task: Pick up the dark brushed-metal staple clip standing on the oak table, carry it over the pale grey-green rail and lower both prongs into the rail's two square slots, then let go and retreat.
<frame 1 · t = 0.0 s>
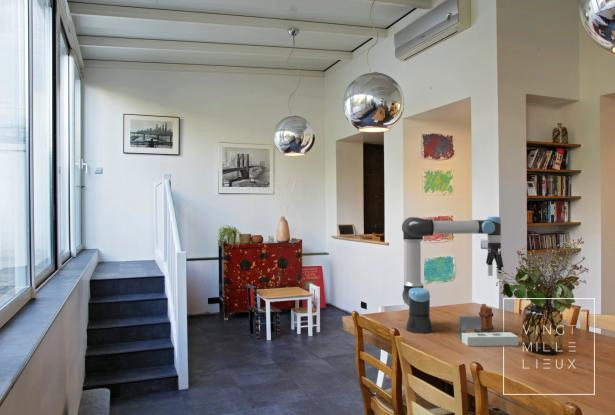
hand: (494, 277, 301), 28 cm above the table, fingers open, 13 cm apart
mug: (485, 332, 281), on the table
clip: (470, 339, 266), on the table
rail: (489, 343, 257), on the table
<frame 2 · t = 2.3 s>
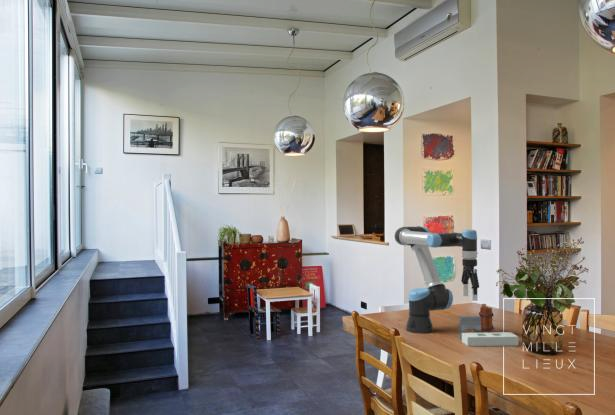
hand: (470, 298, 266), 22 cm above the table, fingers open, 13 cm apart
nothing on the table moved.
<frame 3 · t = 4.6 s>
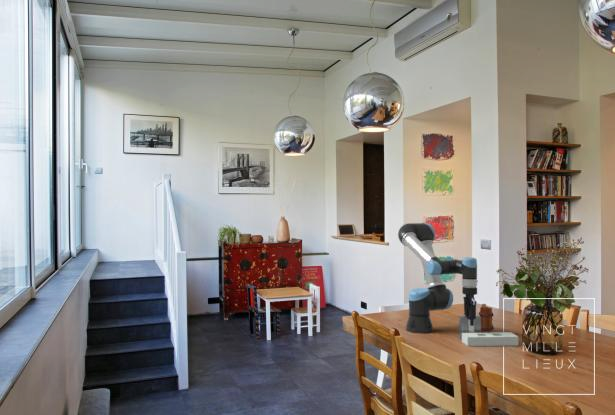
hand: (470, 330, 266), 5 cm above the table, fingers closed on clip, 3 cm apart
clip: (470, 339, 266), on the table, touching gripper
everything else where it was.
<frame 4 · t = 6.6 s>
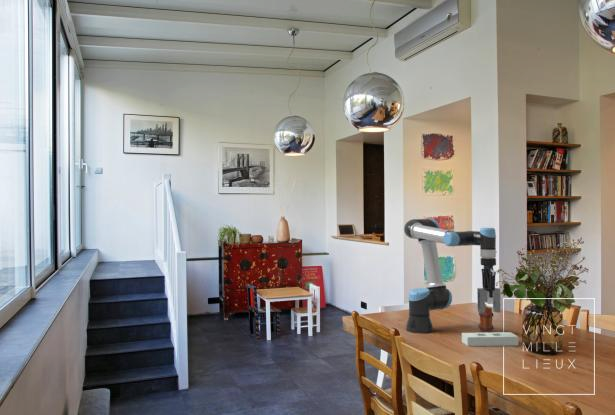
hand: (488, 302, 257), 21 cm above the table, fingers closed on clip, 3 cm apart
clip: (489, 311, 257), point 16 cm above the table, touching gripper
everything else where it was.
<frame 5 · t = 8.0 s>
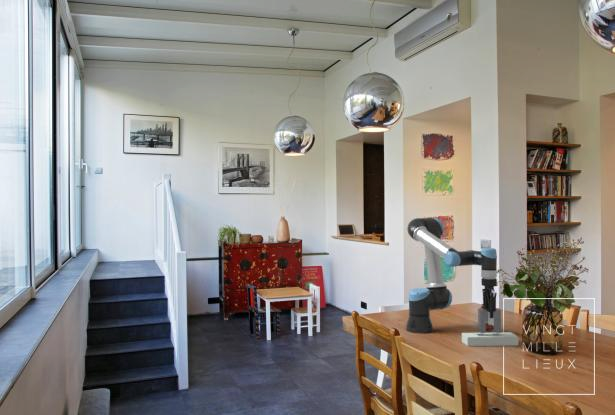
hand: (489, 323, 257), 10 cm above the table, fingers closed on clip, 3 cm apart
clip: (489, 332, 257), point 6 cm above the table, touching gripper
everything else where it was.
when the fingers open (7 cm above the table, at t = 8.9 s): clip drops 2 cm, resting in rail.
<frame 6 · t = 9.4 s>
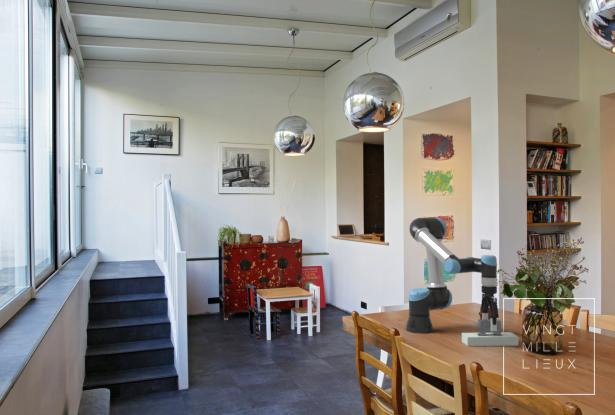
hand: (489, 328, 257), 8 cm above the table, fingers open, 10 cm apart
clip: (489, 343, 257), resting in rail
everything else where it was.
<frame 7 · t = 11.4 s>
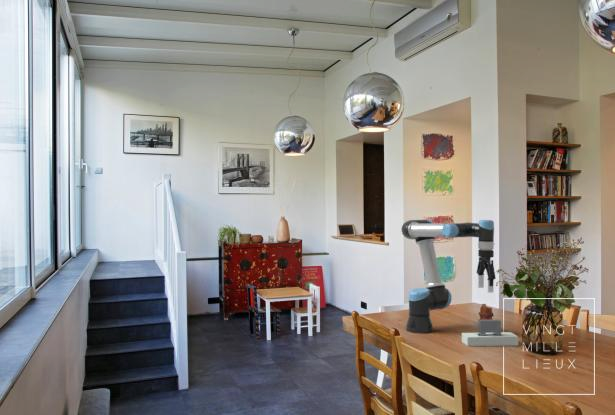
hand: (485, 289, 261), 27 cm above the table, fingers open, 13 cm apart
nothing on the table moved.
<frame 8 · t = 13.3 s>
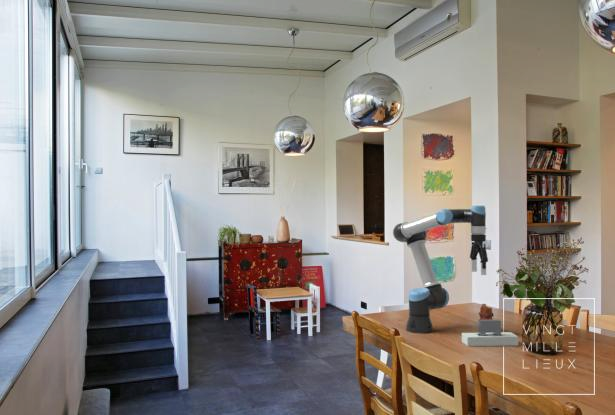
hand: (478, 273, 269), 35 cm above the table, fingers open, 13 cm apart
nothing on the table moved.
at the end: clip 0.0 cm off-centre on the rail, point 0.0 cm above the rail's base; clip tilted 0°; the gripper is holding nothing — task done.
